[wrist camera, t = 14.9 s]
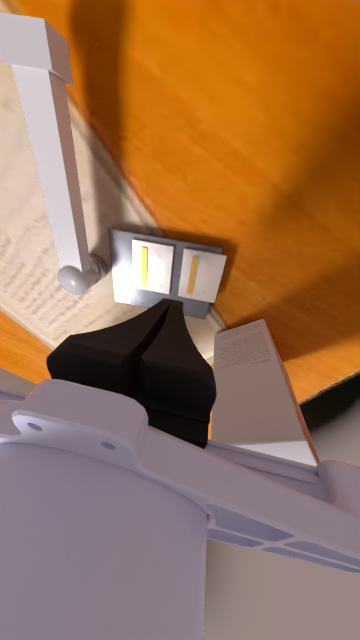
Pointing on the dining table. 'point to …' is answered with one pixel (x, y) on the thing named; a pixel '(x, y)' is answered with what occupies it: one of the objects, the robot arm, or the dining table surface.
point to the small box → (257, 397)
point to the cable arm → (50, 136)
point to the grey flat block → (162, 270)
